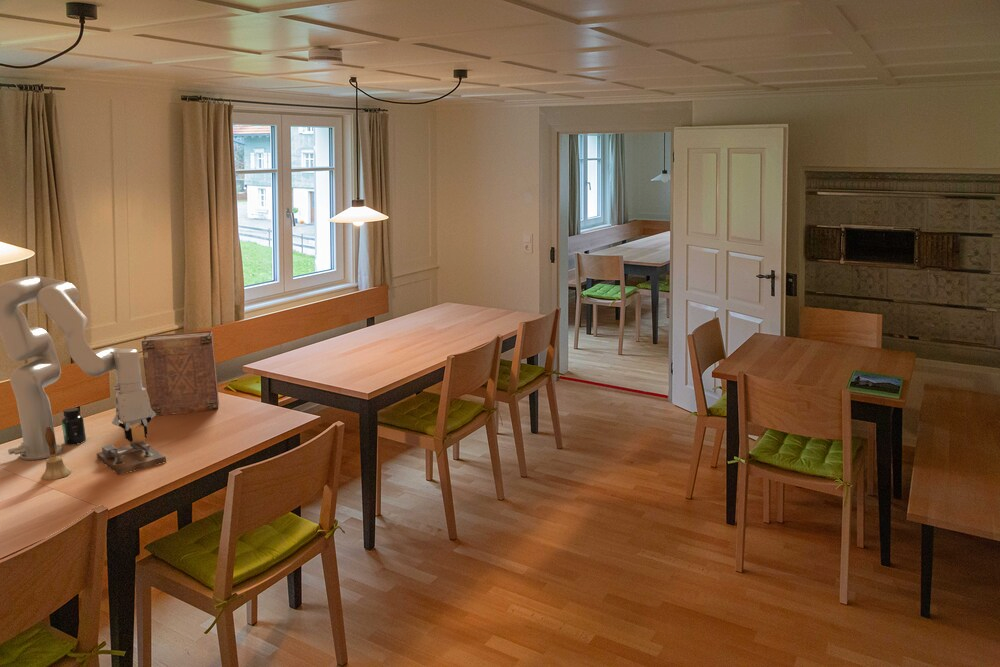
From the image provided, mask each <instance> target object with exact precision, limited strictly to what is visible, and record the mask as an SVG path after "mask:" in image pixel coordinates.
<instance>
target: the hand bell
mask: <svg viewBox="0 0 1000 667" xmlns="http://www.w3.org/2000/svg"><path fill="white" fill-rule="evenodd" d="M54 432H55V431H54ZM54 432H53V431H52V429H51V427H47V428H46V433H45V438H46V441H47V444H48V446H49V450H50V457H48V458H46V460H45V465H46V466H45V470H44V472H43V473H42V476H41V479H43V480H45V481H47V480H50V481H51V480H59V479H62V477H63V478H65V477H67V476H70V474H71V473H72V470H71V469H70V468H68V466H66V465H65V463H64V460H63V458H62V456H58V454H57V455H56V452H55V446H54V444H55V439H56V434H55V435H54Z"/></svg>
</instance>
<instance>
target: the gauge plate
mask: <svg viewBox="0 0 1000 667" xmlns="http://www.w3.org/2000/svg"><path fill="white" fill-rule="evenodd" d="M145 445H146V446H148V447H149V451H148V452H149V454H148V455H145V450H143V449H138V450H135V449H134V448H132V447H131V446H130V444H127V445H124V446H119V447H116V446H114V445H112V444H108V445H105V446H104V445H103V446H101V451H100V452H96V456H97V458H98V459H97V460H98V461H100V462H101V461H102V462H103V465H105V464H106V465H107V466H106V465H105V466H106V467H108V468H109V467H110V468H111V469H110V468H109V469H110V470H112V471H113V470H114V471H115V473H116V474H117V475H118V476H121V475H123V474H124V473H125V474H128V473H131V472H130V471H132V472H135V471H134V470H136V471H138V469H139V470H143V469H146V468H145V467H147V468H150V467H153V465H154V466H157V465H156V464H158V465H160V464H159V463H161V464H164V463H163V462H165V463H166V462H167V457H166V455H164V454H163V453H162V452H161V453H160V452H159V451H158V450H156V449H155V448H154V447H151V445H150V444H147V443H145ZM102 462H101V463H102ZM149 466H150V467H149ZM142 468H143V469H142ZM114 471H113V472H114ZM127 472H128V473H127Z"/></svg>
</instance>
